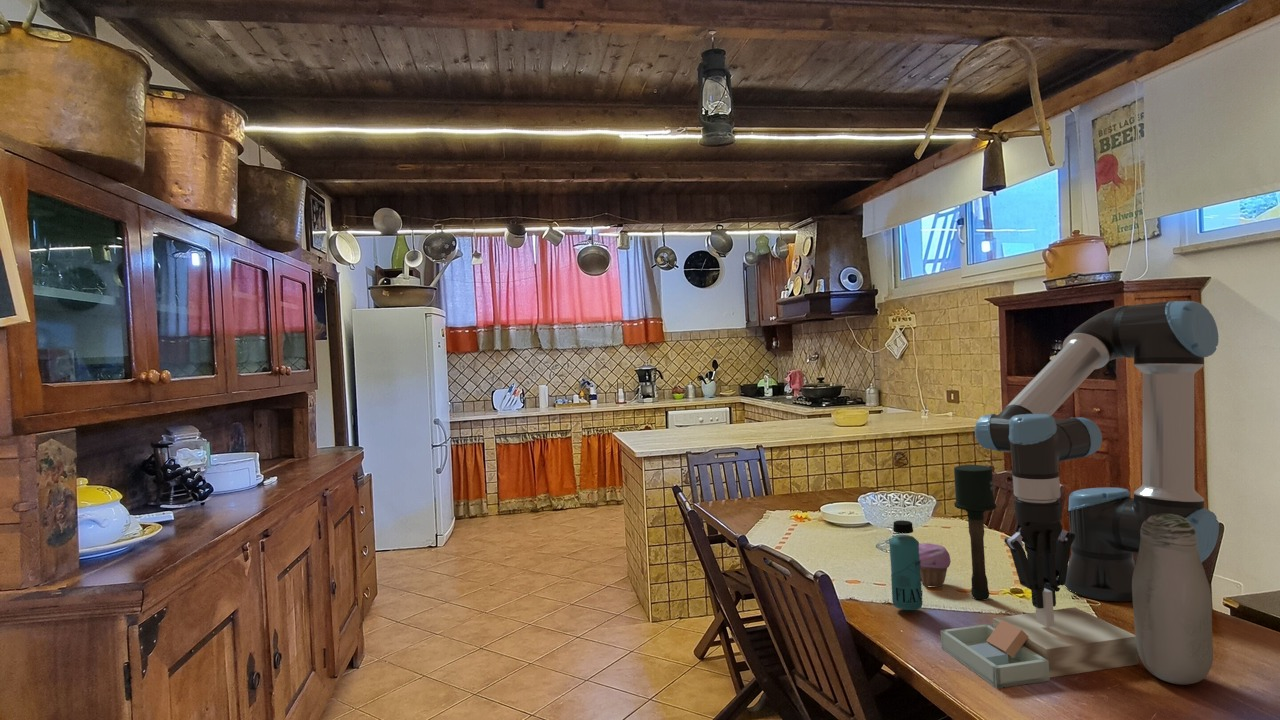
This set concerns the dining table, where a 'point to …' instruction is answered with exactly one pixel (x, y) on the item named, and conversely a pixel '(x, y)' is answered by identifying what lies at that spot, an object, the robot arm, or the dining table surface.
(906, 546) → the beverage bottle
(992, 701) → the dining table surface
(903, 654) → the dining table surface
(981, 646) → the tile slate
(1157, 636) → the grey tall rounded cylinder
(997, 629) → the tile terracotta
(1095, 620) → the board
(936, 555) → the cupcake
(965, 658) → the tray
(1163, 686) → the dining table surface
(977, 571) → the potato masher grenade
